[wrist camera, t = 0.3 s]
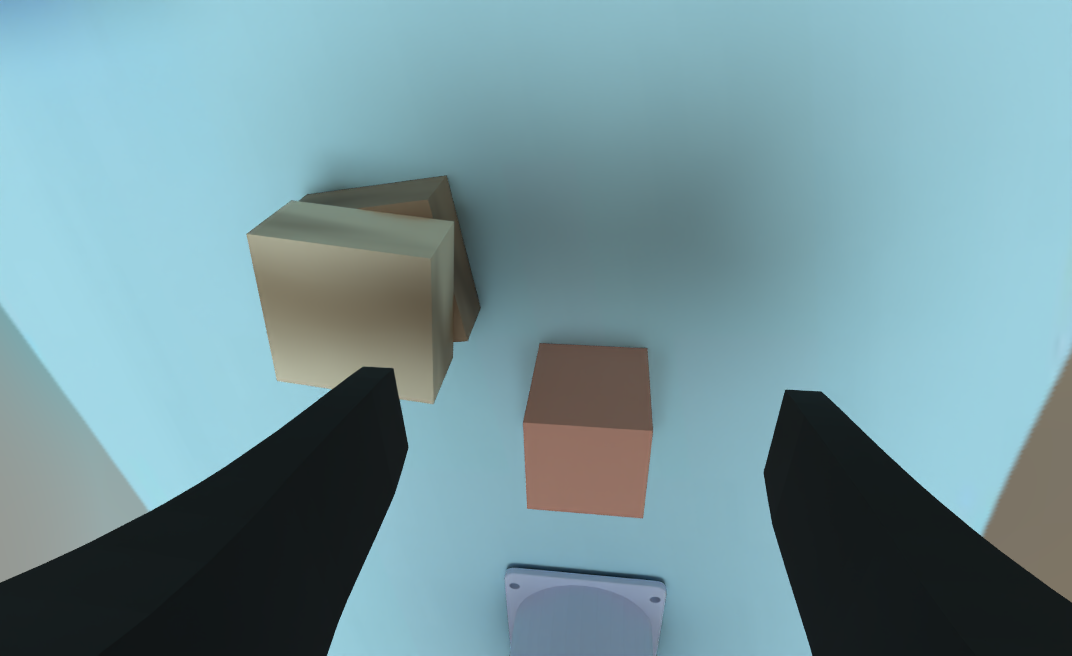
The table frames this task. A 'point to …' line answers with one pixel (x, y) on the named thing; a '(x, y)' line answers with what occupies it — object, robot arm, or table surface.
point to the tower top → (356, 295)
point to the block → (588, 430)
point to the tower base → (424, 202)
